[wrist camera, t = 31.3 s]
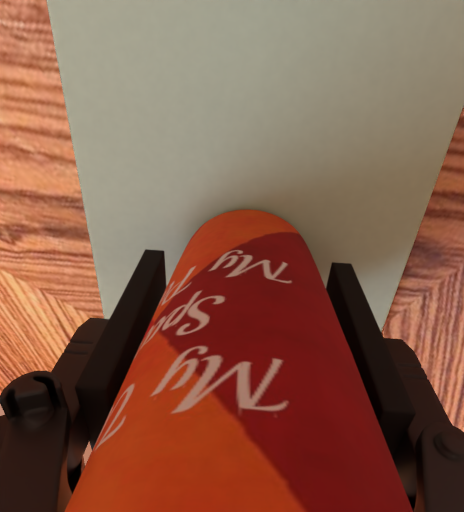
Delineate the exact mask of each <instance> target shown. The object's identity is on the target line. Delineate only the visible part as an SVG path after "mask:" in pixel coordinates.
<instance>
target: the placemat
mask: <svg viewBox="0 0 464 512" xmlns="http://www.w3.org/2000/svg"><path fill="white" fill-rule="evenodd" d="M47 6H48V11H49V17H50V22H51V28H52V33H53V39H54V44H55V50H56V55H57V61H58V66H59V72H60V77H61V83H62V88H63V94H64V99H65V105H66V110H67V116H68V121H69V127H70V132H71V138H72V143H73V149H74V154H75V160H76V165H77V171H78V176H79V182H80V187H81V193H82V198H83V204H84V209H85V215H86V220H87V226H88V231H89V237H90V242H91V248H92V253H93V259H94V264H95V270H96V275H97V281H98V286H99V292H100V297H101V303H102V308H103V314H104V319H110V317H111V315H112V313H113V311H114V309H115V307H116V305H117V304H118V302H119V300H120V298H121V296H122V294H123V292H124V290H125V288H126V286H127V284H128V282H129V280H130V278H131V276H132V274H133V272H134V270H135V269H136V267H137V265H138V263H139V261H140V259H141V257H142V255H143V253H144V251H145V249H148V250H163V251H164V254H165V271H166V287H167V285H168V283H169V281H170V279H171V277H172V275H173V272H174V270H175V268H176V266H177V264H178V262H179V260H180V258H181V256H182V254H183V252H184V250H185V248H186V246H187V244H188V243H189V241H190V239H191V238H192V236H193V235H194V234H195V232H196V231H197V230H198V229H199V228H200V227H201V226H202V225H203V224H205V223H206V222H207V221H209V220H210V219H212V218H214V217H216V216H218V215H220V214H223V213H226V212H230V211H234V210H245V209H248V210H259V211H264V212H268V213H271V214H273V215H276V216H278V217H280V218H282V219H284V220H285V221H287V222H288V223H289V224H291V225H292V226H293V227H294V228H295V229H296V230H297V231H298V232H299V233H300V235H301V236H302V238H303V239H304V241H305V242H306V244H307V246H308V248H309V250H310V252H311V254H312V257H313V259H314V261H315V264H316V266H317V268H318V271H319V273H320V276H321V278H322V281H323V283H324V285H325V288H326V286H327V281H328V277H329V273H330V268H331V264H332V262H336V263H350V264H352V266H353V269H354V271H355V273H356V276H357V278H358V280H359V283H360V285H361V287H362V290H363V292H364V294H365V296H366V299H367V301H368V303H369V306H370V308H371V310H372V313H373V315H374V317H375V319H376V322H377V324H378V326H379V329H380V331H381V332H382V329H383V326H384V323H385V321H386V318H387V315H388V312H389V310H390V307H391V304H392V301H393V299H394V296H395V293H396V290H397V288H398V285H399V282H400V279H401V277H402V274H403V271H404V268H405V266H406V263H407V260H408V257H409V255H410V252H411V249H412V246H413V244H414V241H415V238H416V235H417V233H418V230H419V227H420V224H421V222H422V219H423V216H424V213H425V211H426V208H427V205H428V202H429V200H430V197H431V194H432V191H433V189H434V186H435V183H436V180H437V178H438V175H439V172H440V169H441V167H442V164H443V161H444V158H445V156H446V153H447V150H448V147H449V145H450V142H451V139H452V136H453V134H454V131H455V128H456V125H457V123H458V120H459V117H460V114H461V112H462V109H463V106H464V0H47Z"/></svg>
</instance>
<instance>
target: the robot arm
mask: <svg viewBox="0 0 464 512" xmlns="http://www.w3.org/2000/svg"><path fill="white" fill-rule="evenodd" d="M165 290H166V271H165V254H164V251H163V250H148V249H145V251H144V253H143V255H142V257H141V259H140V261H139V263H138V265H137V267H136V269H135V270H134V272H133V274H132V276H131V278H130V280H129V282H128V284H127V286H126V288H125V290H124V292H123V294H122V296H121V298H120V300H119V302H118V304H117V305H116V307H115V309H114V311H113V313H112V315H111V317H110V319H101V318H90V319H88V320H87V321H86V322H85V323H83V324H82V325H81V326H80V327H79V328H78V329H77V330H76V332H75V334H74V335H73V337H72V339H71V340H70V343H68V345H67V347H66V348H65V350H64V353H62V355H61V357H60V358H59V360H58V362H57V363H56V365H55V367H54V368H53V370H52V371H51V372H48V371H34V372H30V373H27V374H24V375H22V376H20V377H18V378H17V379H15V380H13V381H12V382H11V383H10V384H9V385H8V386H7V387H6V388H5V389H3V391H2V393H1V395H0V404H1V406H2V408H3V410H4V413H5V415H3V416H0V512H65V510H66V507H67V505H68V503H69V501H70V499H71V496H72V494H73V492H74V490H75V488H76V485H77V483H78V481H79V479H80V477H81V474H82V472H83V470H84V468H85V465H84V458H83V454H84V452H85V449H86V447H87V444H88V442H89V441H90V445H91V448H92V450H93V448H94V446H95V443H96V441H97V439H98V437H99V435H100V432H101V430H102V428H103V426H104V424H105V421H106V419H107V417H108V415H109V412H110V410H111V408H112V406H113V404H114V401H115V399H116V397H117V395H118V393H119V390H120V388H121V386H122V384H123V382H124V379H125V377H126V375H127V373H128V370H129V368H130V366H131V364H132V362H133V359H134V357H135V355H136V353H137V351H138V348H139V346H140V344H141V342H142V340H143V338H144V335H145V333H146V331H147V329H148V327H149V324H150V322H151V320H152V318H153V316H154V313H155V311H156V309H157V307H158V305H159V303H160V300H161V298H162V296H163V294H164V292H165ZM326 290H327V293H328V295H329V298H330V300H331V303H332V305H333V308H334V310H335V313H336V316H337V318H338V321H339V323H340V326H341V328H342V331H343V333H344V336H345V338H346V341H347V343H348V345H349V348H350V350H351V352H352V355H353V358H354V360H355V363H356V366H357V368H358V371H359V373H360V376H361V379H362V381H363V384H364V387H365V389H366V392H367V394H368V397H369V400H370V402H371V405H372V407H373V410H374V412H375V415H376V418H377V420H378V423H379V425H380V428H381V430H382V433H383V435H384V438H385V441H386V443H387V446H388V448H389V451H390V453H391V456H392V459H393V461H394V464H395V466H396V469H397V471H398V474H399V477H400V479H401V482H402V484H403V487H404V489H405V492H406V494H407V497H408V500H409V502H410V505H411V507H412V510H413V512H464V432H463V431H461V430H460V429H458V428H456V427H454V426H453V425H452V424H451V422H450V420H449V419H448V417H447V415H446V413H445V411H444V409H443V407H442V405H441V403H440V401H439V399H438V397H437V395H436V393H435V391H434V389H433V387H432V385H431V383H430V382H429V380H427V376H426V374H425V372H424V370H423V368H421V364H420V362H419V360H418V358H417V356H416V354H415V352H414V351H413V350H412V349H411V348H410V347H409V346H408V345H407V344H406V343H405V342H404V341H403V340H401V339H388V338H383V336H382V333H381V331H380V329H379V326H378V324H377V322H376V319H375V317H374V315H373V313H372V310H371V308H370V306H369V303H368V301H367V299H366V296H365V294H364V292H363V290H362V287H361V285H360V283H359V280H358V278H357V276H356V273H355V271H354V269H353V266H352V264H350V263H336V262H332V264H331V268H330V273H329V277H328V281H327V286H326Z"/></svg>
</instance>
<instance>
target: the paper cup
mask: <svg viewBox="0 0 464 512" xmlns="http://www.w3.org/2000/svg"><path fill="white" fill-rule="evenodd" d="M65 512H413V510H412V507H411V505H410V502H409V500H408V497H407V494H406V492H405V489H404V487H403V484H402V482H401V479H400V477H399V474H398V471H397V469H396V466H395V464H394V461H393V459H392V456H391V453H390V451H389V448H388V446H387V443H386V441H385V438H384V435H383V433H382V430H381V428H380V425H379V423H378V420H377V418H376V415H375V412H374V410H373V407H372V405H371V402H370V400H369V397H368V394H367V392H366V389H365V387H364V384H363V381H362V379H361V376H360V373H359V371H358V368H357V366H356V363H355V360H354V358H353V355H352V352H351V350H350V348H349V345H348V343H347V341H346V338H345V336H344V333H343V331H342V328H341V326H340V323H339V321H338V318H337V316H336V313H335V310H334V308H333V305H332V303H331V300H330V298H329V295H328V293H327V290H326V288H325V285H324V283H323V281H322V278H321V276H320V273H319V271H318V268H317V266H316V264H315V261H314V259H313V257H312V254H311V252H310V250H309V248H308V246H307V244H306V242H305V241H304V239H303V238H302V236H301V235H300V233H299V232H298V231H297V230H296V229H295V228H294V227H293V226H292V225H291V224H289V223H288V222H287V221H285V220H284V219H282V218H280V217H278V216H276V215H273V214H271V213H268V212H264V211H259V210H248V209H245V210H234V211H230V212H226V213H223V214H220V215H218V216H216V217H214V218H212V219H210V220H209V221H207V222H206V223H205V224H203V225H202V226H201V227H200V228H199V229H198V230H197V231H196V232H195V234H194V235H193V236H192V238H191V239H190V241H189V243H188V244H187V246H186V248H185V250H184V252H183V254H182V256H181V258H180V260H179V262H178V264H177V266H176V268H175V270H174V272H173V275H172V277H171V279H170V281H169V283H168V285H167V287H166V290H165V292H164V294H163V296H162V298H161V300H160V303H159V305H158V307H157V309H156V311H155V313H154V316H153V318H152V320H151V322H150V324H149V327H148V329H147V331H146V333H145V335H144V338H143V340H142V342H141V344H140V346H139V348H138V351H137V353H136V355H135V357H134V359H133V362H132V364H131V366H130V368H129V370H128V373H127V375H126V377H125V379H124V382H123V384H122V386H121V388H120V390H119V393H118V395H117V397H116V399H115V401H114V404H113V406H112V408H111V410H110V412H109V415H108V417H107V419H106V421H105V424H104V426H103V428H102V430H101V432H100V435H99V437H98V439H97V441H96V443H95V446H94V448H93V450H92V452H91V455H90V457H89V459H88V461H87V464H86V466H85V468H84V470H83V472H82V474H81V477H80V479H79V481H78V483H77V485H76V488H75V490H74V492H73V494H72V496H71V499H70V501H69V503H68V505H67V507H66V510H65Z"/></svg>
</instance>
